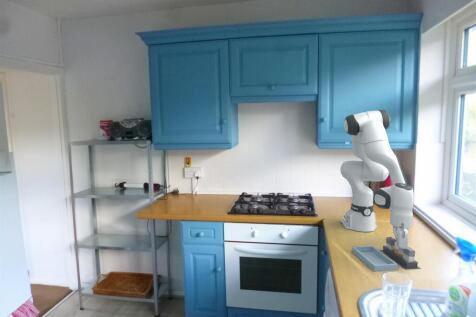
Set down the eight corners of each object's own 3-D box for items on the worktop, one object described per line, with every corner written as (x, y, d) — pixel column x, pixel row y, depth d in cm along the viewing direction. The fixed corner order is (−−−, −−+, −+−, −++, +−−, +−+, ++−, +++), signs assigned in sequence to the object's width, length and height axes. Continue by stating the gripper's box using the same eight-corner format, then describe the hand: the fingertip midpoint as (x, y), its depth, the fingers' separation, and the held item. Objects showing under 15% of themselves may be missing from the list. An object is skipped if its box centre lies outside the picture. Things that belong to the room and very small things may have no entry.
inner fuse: (386, 251, 152) (386, 237, 151) (391, 251, 152) (390, 236, 151) (391, 255, 148) (391, 240, 147) (396, 254, 148) (396, 240, 147)
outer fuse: (401, 262, 140) (403, 247, 139) (407, 262, 140) (409, 247, 139) (407, 266, 136) (409, 250, 135) (413, 266, 136) (415, 250, 135)
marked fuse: (393, 257, 146) (394, 242, 145) (398, 256, 146) (399, 241, 145) (399, 260, 142) (400, 245, 141) (404, 260, 142) (405, 245, 141)
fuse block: (379, 252, 153) (379, 245, 153) (393, 251, 154) (393, 244, 154) (405, 272, 134) (405, 263, 133) (421, 271, 134) (421, 263, 134)
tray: (351, 253, 152) (352, 246, 152) (372, 252, 153) (372, 245, 153) (374, 273, 132) (374, 265, 132) (397, 272, 133) (397, 264, 133)
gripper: (413, 229, 131) (411, 261, 133) (405, 214, 150) (404, 243, 152) (396, 227, 133) (394, 259, 135) (390, 213, 152) (389, 241, 154)
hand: (399, 251), depth 143 cm, fingers closed on marked fuse, 5 cm apart
